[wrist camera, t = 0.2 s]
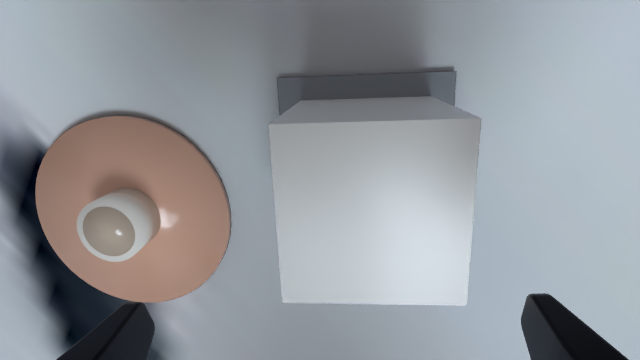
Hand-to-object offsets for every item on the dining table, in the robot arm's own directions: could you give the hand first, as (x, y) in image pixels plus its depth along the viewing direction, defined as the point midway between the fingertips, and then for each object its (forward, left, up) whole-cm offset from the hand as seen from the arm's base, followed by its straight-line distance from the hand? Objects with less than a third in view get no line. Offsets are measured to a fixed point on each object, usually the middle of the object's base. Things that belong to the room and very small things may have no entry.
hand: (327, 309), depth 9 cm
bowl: (-11, +9, -15) cm, 21 cm away
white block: (+1, -1, -15) cm, 15 cm away
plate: (-11, +9, -15) cm, 21 cm away
